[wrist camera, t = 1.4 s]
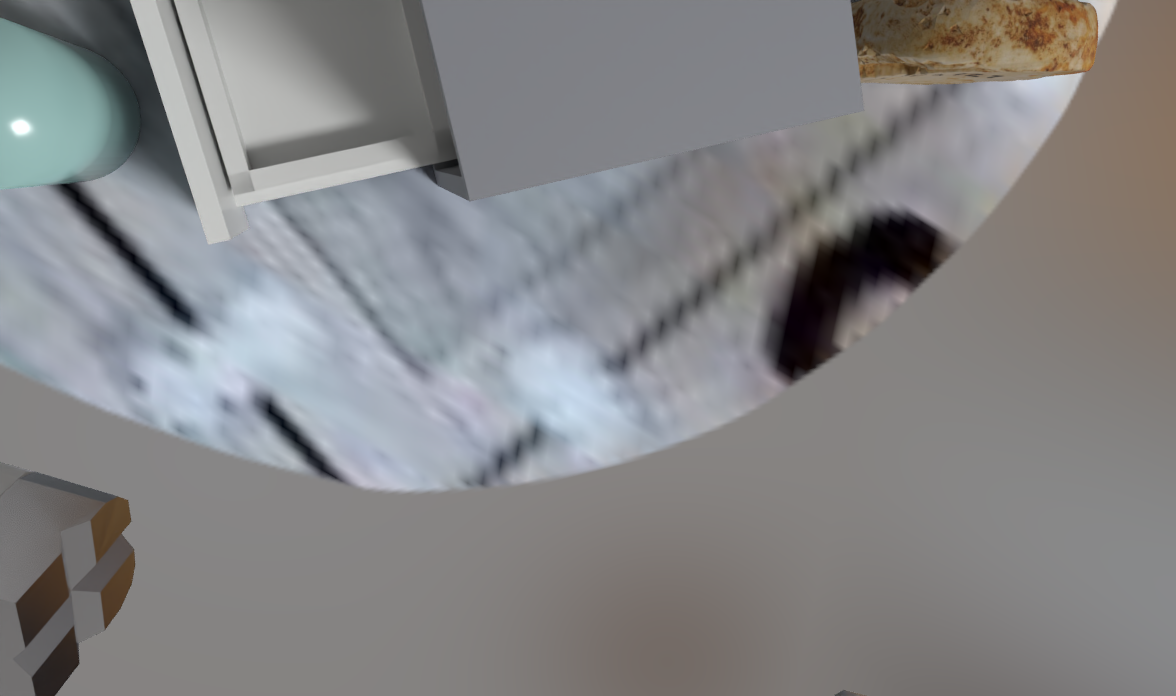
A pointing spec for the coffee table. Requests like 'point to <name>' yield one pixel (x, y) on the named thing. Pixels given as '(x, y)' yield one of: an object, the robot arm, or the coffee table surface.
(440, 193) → the coffee table surface
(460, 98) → the housing
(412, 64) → the tray
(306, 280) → the coffee table surface
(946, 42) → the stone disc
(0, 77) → the sage green cylinder
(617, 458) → the coffee table surface
